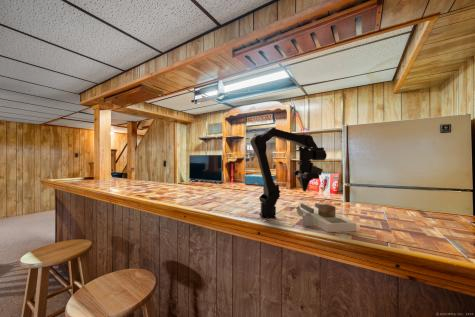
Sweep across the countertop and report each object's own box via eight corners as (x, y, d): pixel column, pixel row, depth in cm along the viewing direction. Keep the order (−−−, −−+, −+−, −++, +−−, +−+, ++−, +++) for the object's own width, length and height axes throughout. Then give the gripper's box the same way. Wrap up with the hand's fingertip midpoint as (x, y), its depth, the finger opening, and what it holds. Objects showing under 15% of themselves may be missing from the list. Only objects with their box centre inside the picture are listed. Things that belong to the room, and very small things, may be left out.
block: (324, 217, 86) (324, 207, 86) (318, 214, 91) (318, 204, 91) (335, 217, 87) (335, 206, 87) (328, 214, 92) (328, 204, 92)
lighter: (313, 225, 85) (313, 206, 85) (313, 226, 84) (313, 207, 84) (295, 223, 88) (295, 204, 88) (295, 224, 86) (295, 205, 86)
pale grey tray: (327, 232, 77) (327, 219, 77) (296, 212, 105) (296, 202, 105) (356, 230, 79) (356, 218, 79) (318, 211, 107) (318, 202, 107)
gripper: (330, 160, 94) (329, 194, 94) (312, 160, 113) (311, 188, 113) (307, 160, 93) (306, 194, 93) (292, 160, 112) (292, 188, 112)
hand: (304, 191), depth 103 cm, fingers closed
